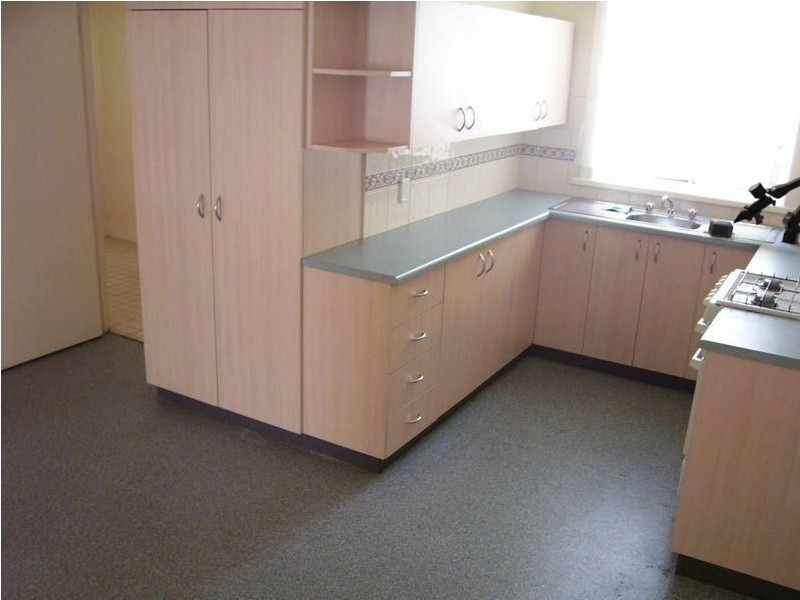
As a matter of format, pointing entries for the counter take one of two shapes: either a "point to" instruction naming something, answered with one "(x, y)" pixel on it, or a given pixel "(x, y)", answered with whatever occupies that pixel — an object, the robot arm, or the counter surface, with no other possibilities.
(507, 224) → the counter surface
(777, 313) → the counter surface
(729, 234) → the small box
